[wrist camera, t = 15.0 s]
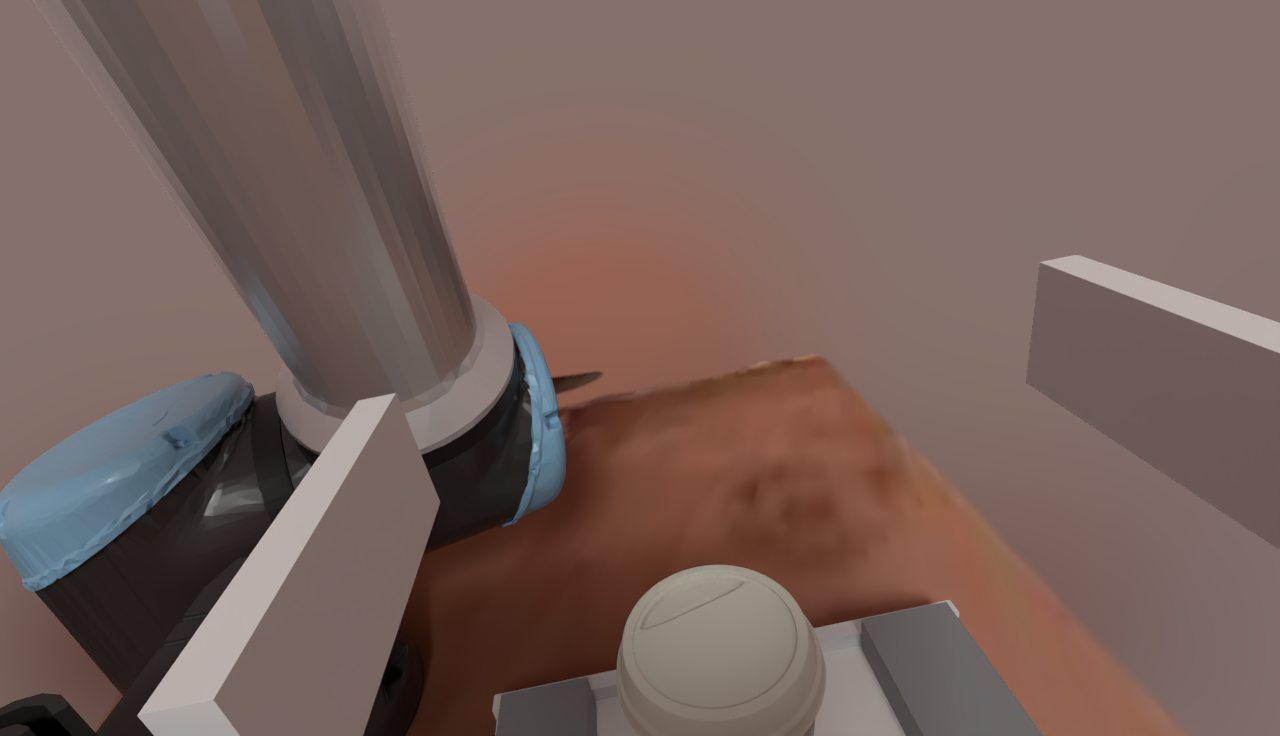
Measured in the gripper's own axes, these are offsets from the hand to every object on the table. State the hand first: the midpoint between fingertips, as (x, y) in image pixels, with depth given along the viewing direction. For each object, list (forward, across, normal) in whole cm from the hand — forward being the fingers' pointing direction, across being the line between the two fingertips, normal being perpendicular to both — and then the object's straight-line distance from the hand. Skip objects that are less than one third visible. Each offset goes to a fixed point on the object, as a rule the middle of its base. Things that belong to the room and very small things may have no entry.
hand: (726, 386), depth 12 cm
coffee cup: (+6, -1, -26) cm, 27 cm away
